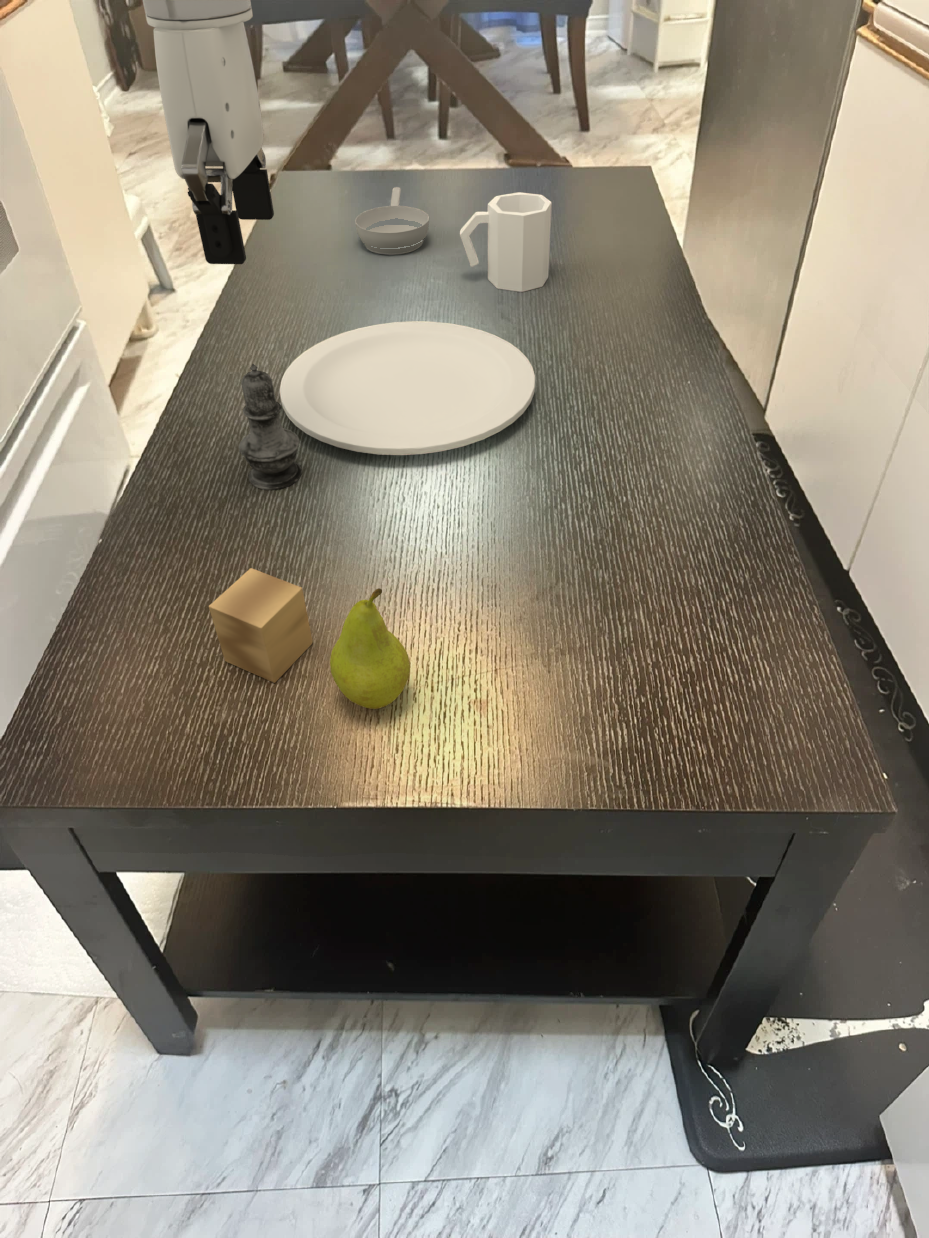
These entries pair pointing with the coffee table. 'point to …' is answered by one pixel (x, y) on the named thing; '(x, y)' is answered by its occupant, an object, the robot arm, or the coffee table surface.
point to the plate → (407, 388)
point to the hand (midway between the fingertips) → (242, 239)
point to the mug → (514, 240)
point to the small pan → (392, 227)
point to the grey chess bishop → (267, 436)
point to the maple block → (262, 624)
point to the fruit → (369, 658)
